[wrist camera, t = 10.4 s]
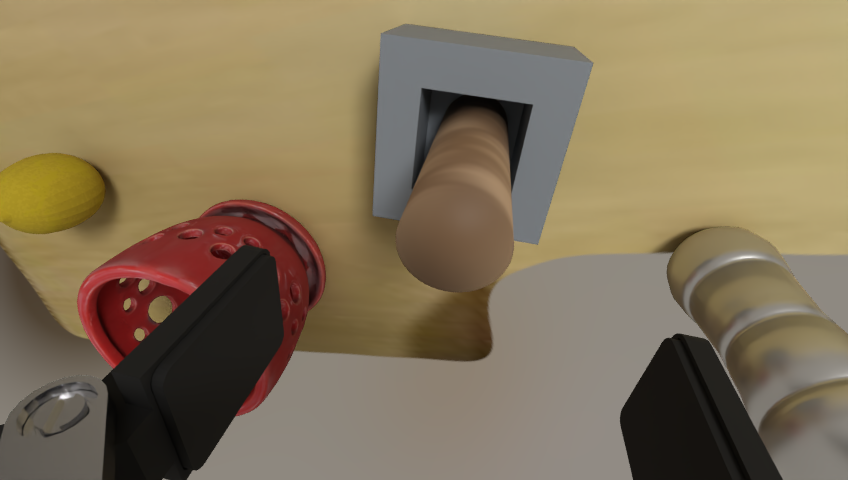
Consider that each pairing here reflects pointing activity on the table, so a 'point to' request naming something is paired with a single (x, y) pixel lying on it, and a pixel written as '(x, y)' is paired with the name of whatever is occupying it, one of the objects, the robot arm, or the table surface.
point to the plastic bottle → (770, 347)
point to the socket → (485, 77)
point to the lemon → (49, 193)
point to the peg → (461, 201)
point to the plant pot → (202, 279)
